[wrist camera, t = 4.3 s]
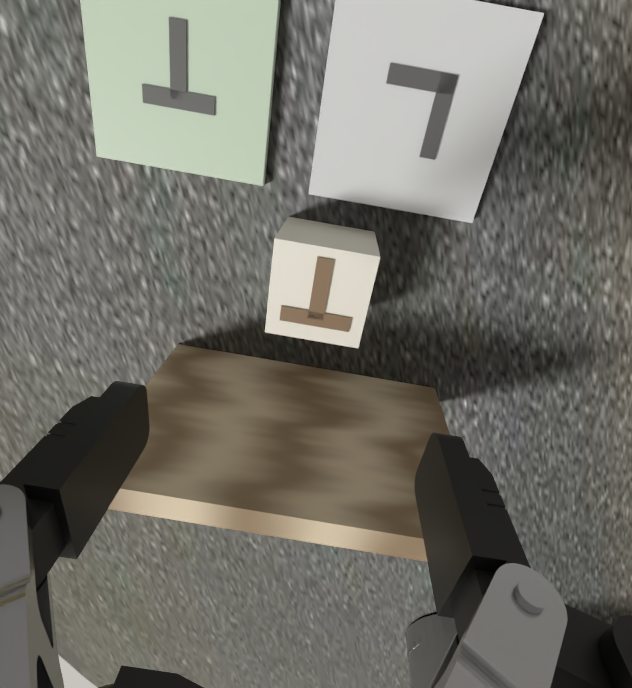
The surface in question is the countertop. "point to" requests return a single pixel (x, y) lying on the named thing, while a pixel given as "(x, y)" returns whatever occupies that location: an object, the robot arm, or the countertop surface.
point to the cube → (321, 281)
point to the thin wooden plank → (284, 451)
